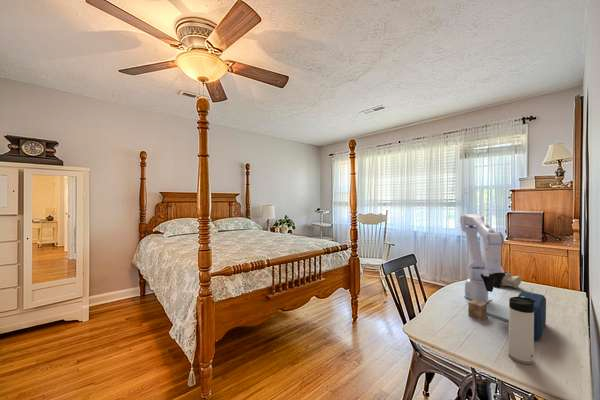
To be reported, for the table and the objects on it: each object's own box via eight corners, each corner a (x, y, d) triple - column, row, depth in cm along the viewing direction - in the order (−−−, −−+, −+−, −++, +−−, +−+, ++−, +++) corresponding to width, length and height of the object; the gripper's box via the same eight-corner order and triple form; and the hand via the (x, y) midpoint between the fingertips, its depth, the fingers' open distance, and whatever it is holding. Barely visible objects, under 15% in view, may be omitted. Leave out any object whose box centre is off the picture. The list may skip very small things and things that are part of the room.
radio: (518, 316, 115) (519, 270, 114) (546, 323, 108) (547, 275, 108) (509, 334, 101) (509, 282, 100) (540, 343, 94) (540, 288, 93)
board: (478, 311, 120) (478, 309, 120) (492, 304, 127) (492, 301, 127) (509, 322, 109) (509, 320, 109) (523, 313, 117) (523, 311, 117)
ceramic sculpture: (520, 275, 141) (486, 271, 152) (521, 291, 141) (487, 286, 151) (521, 270, 149) (489, 267, 159) (523, 286, 149) (490, 282, 159)
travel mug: (539, 366, 82) (540, 303, 82) (515, 363, 84) (516, 301, 83) (526, 354, 88) (527, 295, 88) (504, 352, 90) (505, 294, 89)
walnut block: (468, 315, 116) (468, 302, 116) (474, 312, 119) (474, 299, 118) (481, 320, 112) (481, 306, 112) (486, 317, 114) (486, 303, 114)
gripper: (496, 263, 111) (496, 295, 111) (510, 258, 118) (510, 288, 119) (477, 260, 116) (478, 290, 117) (492, 256, 124) (492, 284, 124)
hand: (493, 289), depth 118 cm, fingers open, 7 cm apart
